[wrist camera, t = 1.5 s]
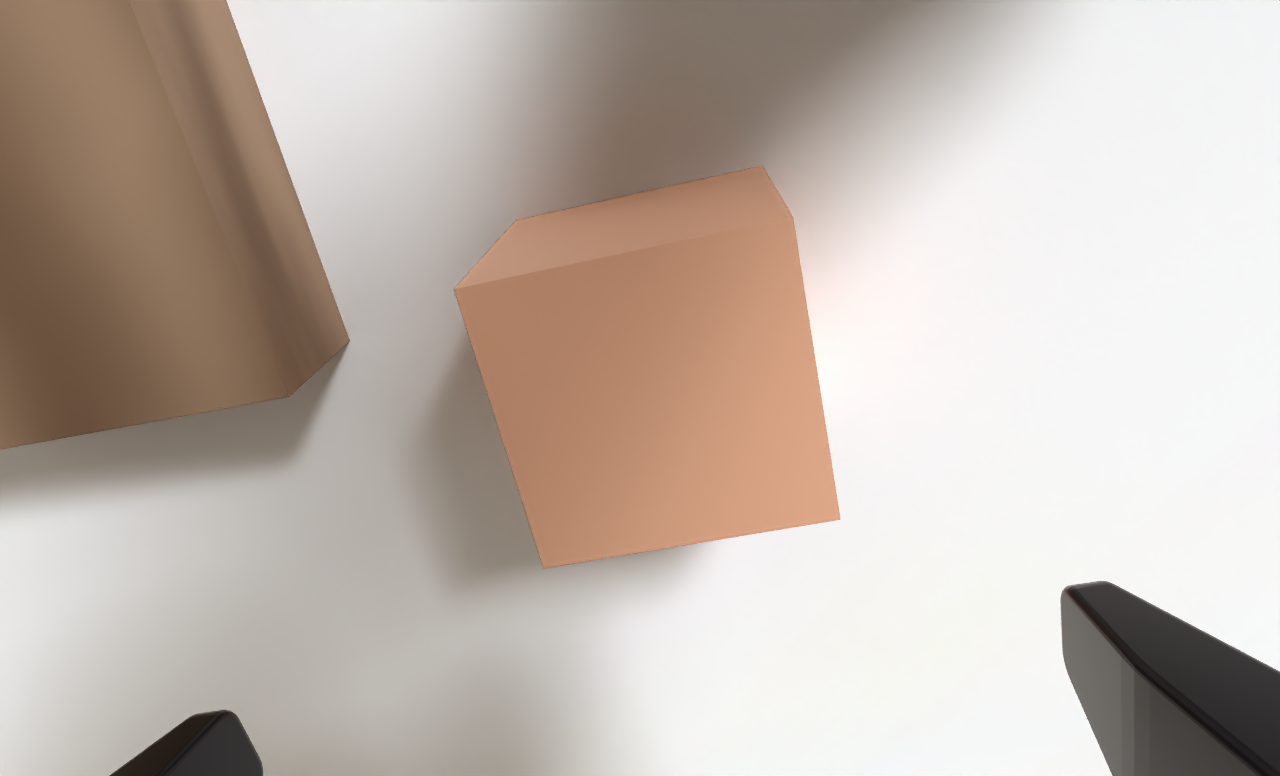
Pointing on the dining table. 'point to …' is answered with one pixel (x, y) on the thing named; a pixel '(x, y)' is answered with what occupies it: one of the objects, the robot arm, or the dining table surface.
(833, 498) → the terracotta cube
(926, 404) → the dining table surface
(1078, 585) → the robot arm
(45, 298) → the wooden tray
